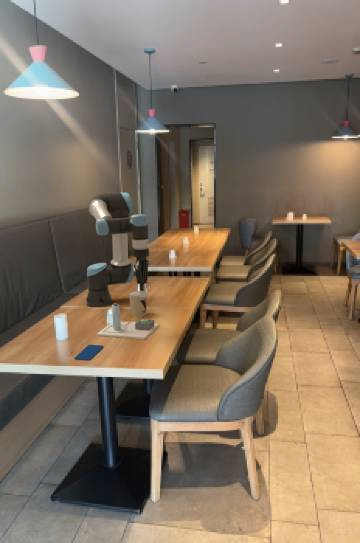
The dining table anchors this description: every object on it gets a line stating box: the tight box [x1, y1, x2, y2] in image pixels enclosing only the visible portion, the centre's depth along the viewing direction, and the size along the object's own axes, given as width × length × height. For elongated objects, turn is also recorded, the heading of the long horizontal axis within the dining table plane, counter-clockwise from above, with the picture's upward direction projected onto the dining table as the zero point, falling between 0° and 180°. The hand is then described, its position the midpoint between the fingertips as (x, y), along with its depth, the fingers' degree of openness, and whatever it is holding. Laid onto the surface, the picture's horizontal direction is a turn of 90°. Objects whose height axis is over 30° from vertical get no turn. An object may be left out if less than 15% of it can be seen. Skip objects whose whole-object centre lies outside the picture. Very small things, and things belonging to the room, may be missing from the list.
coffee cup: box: [128, 290, 148, 318], centre depth 239 cm, size 9×9×12 cm
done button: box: [139, 318, 149, 323], centre depth 216 cm, size 4×4×3 cm
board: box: [96, 318, 160, 340], centre depth 216 cm, size 24×20×4 cm
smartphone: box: [73, 344, 104, 361], centre depth 190 cm, size 7×1×15 cm
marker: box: [111, 302, 121, 330], centre depth 214 cm, size 4×4×13 cm
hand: (143, 296), depth 214 cm, fingers closed
